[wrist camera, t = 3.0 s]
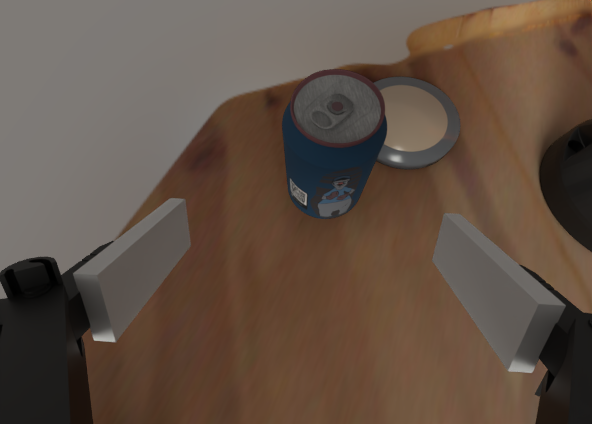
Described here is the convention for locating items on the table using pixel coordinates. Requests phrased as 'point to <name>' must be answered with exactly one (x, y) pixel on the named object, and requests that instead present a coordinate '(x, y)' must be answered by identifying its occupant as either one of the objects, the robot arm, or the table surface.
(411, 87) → the coaster
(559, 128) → the table surface
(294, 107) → the soda can
